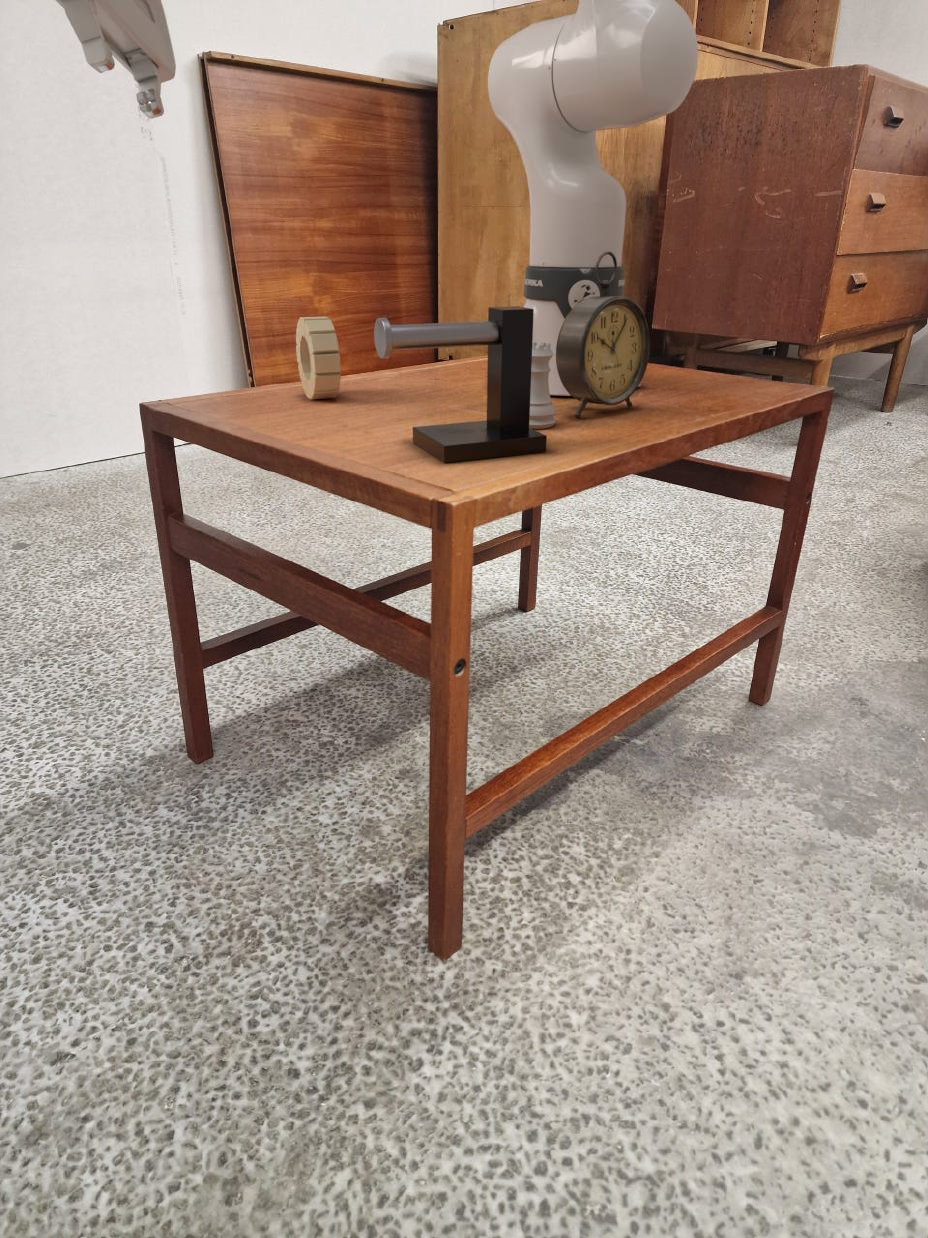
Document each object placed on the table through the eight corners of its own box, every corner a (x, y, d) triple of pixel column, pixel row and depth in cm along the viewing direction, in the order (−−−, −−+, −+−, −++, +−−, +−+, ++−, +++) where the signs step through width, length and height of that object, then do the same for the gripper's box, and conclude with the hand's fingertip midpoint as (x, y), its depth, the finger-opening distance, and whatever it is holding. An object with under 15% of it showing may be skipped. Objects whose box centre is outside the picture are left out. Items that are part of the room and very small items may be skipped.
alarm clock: (580, 422, 84) (591, 252, 77) (543, 414, 88) (551, 251, 81) (647, 409, 90) (663, 250, 83) (610, 402, 94) (622, 249, 87)
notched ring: (299, 391, 99) (293, 314, 95) (323, 390, 100) (317, 313, 96) (317, 405, 92) (311, 321, 88) (343, 403, 93) (337, 320, 89)
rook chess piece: (553, 420, 85) (557, 340, 81) (559, 429, 81) (563, 346, 77) (511, 420, 85) (513, 340, 81) (514, 429, 81) (517, 346, 77)
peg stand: (507, 433, 79) (510, 303, 74) (546, 452, 73) (553, 311, 67) (371, 446, 74) (364, 308, 69) (399, 468, 68) (394, 317, 62)
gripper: (43, -187, 58) (102, 20, 61) (165, -24, 78) (206, 127, 81) (-34, -159, 59) (26, 44, 62) (106, -5, 79) (148, 144, 82)
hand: (129, 92), depth 72 cm, fingers open, 8 cm apart
